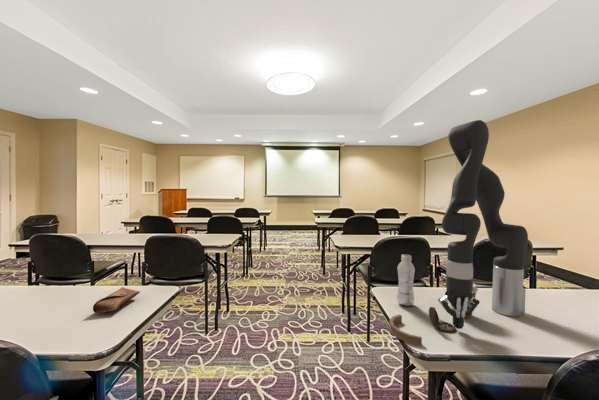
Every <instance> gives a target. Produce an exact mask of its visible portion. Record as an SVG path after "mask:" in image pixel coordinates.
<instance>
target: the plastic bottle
mask: <svg viewBox="0 0 599 400" xmlns="http://www.w3.org/2000/svg"><path fill="white" fill-rule="evenodd" d="M400 257H401V258H400V260H401V261H400V262H399V263H398V265H397V268H396V269H397V277H398V286H397V287H398V288H397V292H396V300H397V303H398V304H399V305H401V306H403V307H404V306H406V307H411V306H413V305H414V304H415V295H414V293H415V292H414V279H415V272H416V269H415V266H414V264H413V263H412V260H413V259H412V255H410V254H408V253H407V254H406V253H405V254H404V253H403V254H401V256H400Z"/></svg>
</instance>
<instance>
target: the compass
mask: <svg viewBox="0 0 599 400" xmlns="http://www.w3.org/2000/svg"><path fill="white" fill-rule="evenodd" d="M428 315H429V316H428V317H429V319H430V323H431V324H432V326H433V327H434V328H435V329H436V330H437V331H440V332H442V333H444V334H445V333H447V334H455V333H456V332H457V328H456V327H455V326H454V325H453V323H449V322H446V321H443V320H441V319H440V317H439V315H438V312H437V310H436V307H433V306H429V308H428Z"/></svg>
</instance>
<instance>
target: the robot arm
mask: <svg viewBox="0 0 599 400" xmlns="http://www.w3.org/2000/svg"><path fill="white" fill-rule="evenodd" d="M447 136H448V142H449V145H450V147H451V149H452V151H453V154H454V155H455V157H456V158H457V159H456V160H458V162H459V164H460V166H461V167H460V168H459V170H458V172H457V173H456V175H455V177H454V179H453V182H452V185H451V187H452V188H451V196H450V197H451V198H450V201H449V204H448V207H447V209H446V211H445V213H444V215H443V217H442V220H441V228H442V230H443V231H444V233H446V234H449V235H458V236H465V239H463V240H460V241H459V240H457V241H451V242H449V243H448V244H447V257H446V258H447V259H446V260H447V261H446V265H445V266H446V269H445V270H446V271H445V288H446V290H445V292H444V296H443V297H439V298H438V299H437V301H438V302H439V304H440V305H441V306H442V308H443V309H444V310H445V311H446V313H448V314H449V316H450V317H451V316H452V325H453V326H454V327H455V328H456V330H457V329H458V330H461V329H463V328H464V325H465V324H464V323H465V319H464V317H465V316H466V315H468V316H469V315H470V314H471V313H472V314H473V312H474V311H475V310H476V308H477V307H478V305H480V300H479V299H477V298H476V297H475V298H474V297H473V294H472V291H473V283H474V265H473V261H474V259H473V258H474V246H475V243H476V239H477V236H478V234H479V231H480V228H481V225H482V224H481V219H480V217H479V216H478V215H477V214H476V213H469V212H464V213H463V212H459V211H461V210H464V209H468V208H472V207H474V206H475V205H476V203H477V205H478V208H479V211H480V213H481V215H482V216H481V217H482V218H483V223H484V226H485V229H486V232H487V233H486V234H487V237H488V239H489V241H490V243H491V244H492V245H494V246H495V247H498V248H502V249H507V252H506V254H505V255H500V256H496V257H494V258H493V262H492V263H493V266H492V267H493V268H492V289H491V290H492V295H491V296H492V297H491V309H492V311H494V312H496V313H498V314H501V315H504V316H507V317H514V318H515V317H522V316H523V315H525V314H526V313H525V312H526V291H527V290H526V289H525V288H524V274H525V273H524V269H525V264H526V260H527V252H528V243H529V235H528V231H527V229H526V227H525V226H522V225H517V224H509V223H504V222H503V221H502V217H501V216H500V209H501V207H502V205H503V202H504V199H505V194H506V193H505V189H504V187H503V185H502V182H501V179H500V177H499V176H498V174H496V173H495V172H494V171H493V170H491V168H489V167H487V166H486V165H485V164H483V161H484V159H485V155H486V151H487V148H488V144H489V137H490V131H489V127H488V125H487V123H486V122H485V121H483V120H481V119H478V120H472V121H469V122H466V123H463V124H459V125H456V126H454V127H452V128H450V129H449V131H448V135H447ZM449 303H450V305H449ZM451 308H452V309H451ZM467 310H468V311H467Z"/></svg>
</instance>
